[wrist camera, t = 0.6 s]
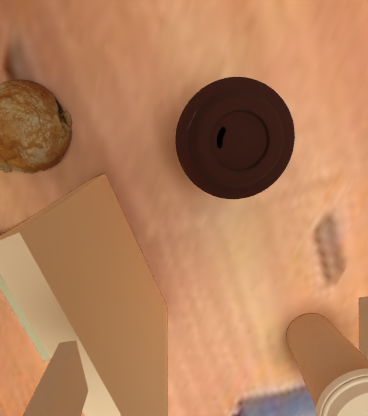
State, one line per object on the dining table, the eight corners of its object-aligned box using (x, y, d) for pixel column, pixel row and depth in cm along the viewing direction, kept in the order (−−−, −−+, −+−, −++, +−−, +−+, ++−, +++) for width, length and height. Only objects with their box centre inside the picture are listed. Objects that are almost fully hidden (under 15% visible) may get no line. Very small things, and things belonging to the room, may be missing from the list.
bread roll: (84, 150, 43) (94, 137, 36) (12, 192, 39) (6, 188, 32) (37, 81, 41) (38, 53, 33) (-43, 120, 37) (-63, 98, 30)
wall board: (85, 181, 40) (-26, 250, 17) (105, 173, 40) (19, 232, 17) (150, 314, 45) (131, 512, 22) (167, 307, 45) (168, 499, 21)
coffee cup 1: (269, 137, 40) (328, 141, 26) (212, 193, 41) (237, 227, 27) (214, 76, 38) (244, 42, 24) (156, 137, 39) (149, 141, 25)
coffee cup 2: (341, 356, 48) (417, 455, 34) (278, 366, 48) (326, 469, 33) (340, 298, 46) (421, 377, 31) (273, 308, 46) (323, 392, 31)
